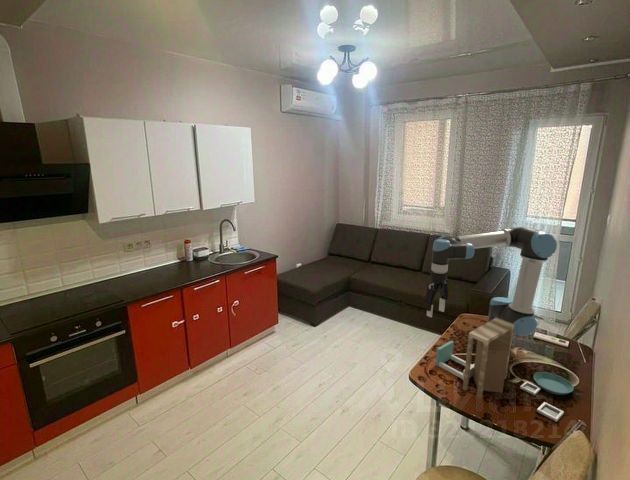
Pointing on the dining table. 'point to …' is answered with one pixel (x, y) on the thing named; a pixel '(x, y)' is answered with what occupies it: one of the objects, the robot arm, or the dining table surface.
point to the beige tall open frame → (486, 334)
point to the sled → (446, 353)
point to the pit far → (550, 411)
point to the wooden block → (491, 366)
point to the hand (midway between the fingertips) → (435, 313)
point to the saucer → (553, 383)
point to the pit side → (530, 388)
